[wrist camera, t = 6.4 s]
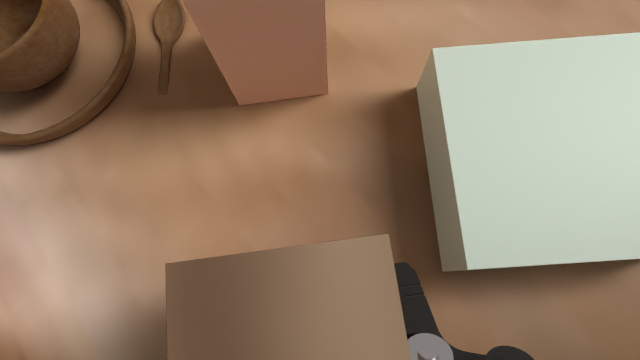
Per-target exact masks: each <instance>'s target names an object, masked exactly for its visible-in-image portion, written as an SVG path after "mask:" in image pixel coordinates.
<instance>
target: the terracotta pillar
mask: <svg viewBox="0 0 640 360" xmlns="http://www.w3.org/2000/svg"><path fill="white" fill-rule="evenodd" d="M182 1H183V3H184V5H185V6H186V8H187V10H188V12H189V14H190V16H191V17H192V19H193V21H194V23H195V25H196V27H197V28H198V30H199V32H200V34H201V36H202V38H203V39H204V41H205V43H206V45H207V47H208V49H209V50H210V52H211V54H212V56H213V58H214V60H215V61H216V63H217V65H218V67H219V69H220V71H221V72H222V74H223V76H224V78H225V80H226V82H227V83H228V85H229V87H230V89H231V91H232V93H233V94H234V96H235V98H236V100H237V102H238V104H239V105H247V104H255V103H262V102H270V101H277V100H285V99H292V98H299V97H307V96H314V95H322V94H328V78H327V51H326V25H325V0H182Z"/></svg>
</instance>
